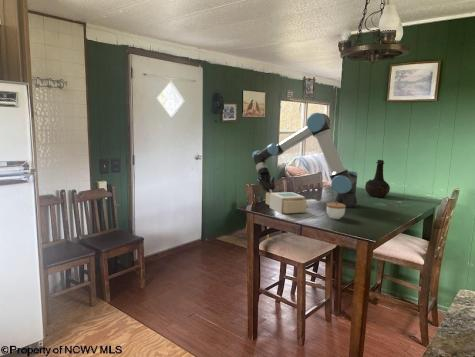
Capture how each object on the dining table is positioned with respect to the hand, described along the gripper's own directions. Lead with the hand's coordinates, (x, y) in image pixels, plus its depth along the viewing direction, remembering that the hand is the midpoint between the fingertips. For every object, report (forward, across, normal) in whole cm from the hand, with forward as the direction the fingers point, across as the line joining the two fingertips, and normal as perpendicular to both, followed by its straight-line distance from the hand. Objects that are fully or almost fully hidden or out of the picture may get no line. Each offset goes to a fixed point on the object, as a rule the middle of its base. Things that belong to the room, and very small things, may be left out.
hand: (272, 198), depth 240 cm
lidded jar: (+31, -19, +27) cm, 45 cm away
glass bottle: (0, -93, -5) cm, 93 cm away
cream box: (+15, 0, +10) cm, 18 cm away
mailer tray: (+13, 0, +10) cm, 16 cm away
